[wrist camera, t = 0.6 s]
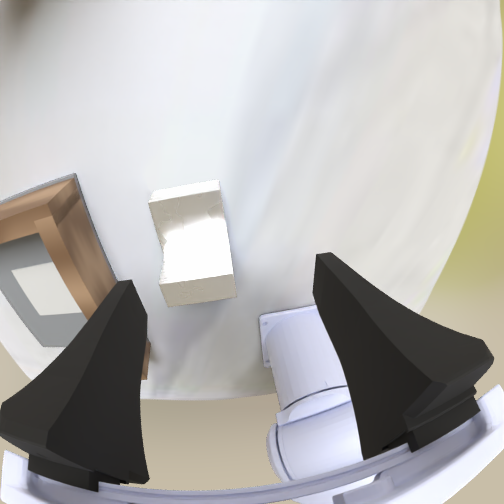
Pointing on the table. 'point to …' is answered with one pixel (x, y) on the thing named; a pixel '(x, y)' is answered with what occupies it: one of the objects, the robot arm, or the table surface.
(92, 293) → the corner walls
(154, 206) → the aluminium bracket
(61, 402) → the robot arm
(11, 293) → the mat
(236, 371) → the table surface
